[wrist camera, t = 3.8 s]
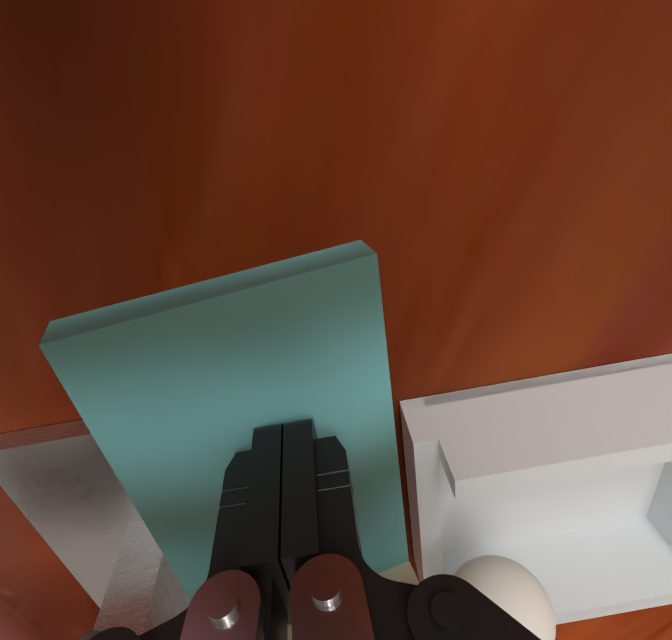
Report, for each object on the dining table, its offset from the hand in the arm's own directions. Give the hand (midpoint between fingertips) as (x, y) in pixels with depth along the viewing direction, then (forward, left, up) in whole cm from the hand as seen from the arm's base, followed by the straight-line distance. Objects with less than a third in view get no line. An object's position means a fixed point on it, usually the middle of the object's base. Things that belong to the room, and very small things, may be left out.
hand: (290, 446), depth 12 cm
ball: (+11, +6, 0) cm, 12 cm away
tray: (+11, +11, -6) cm, 17 cm away
